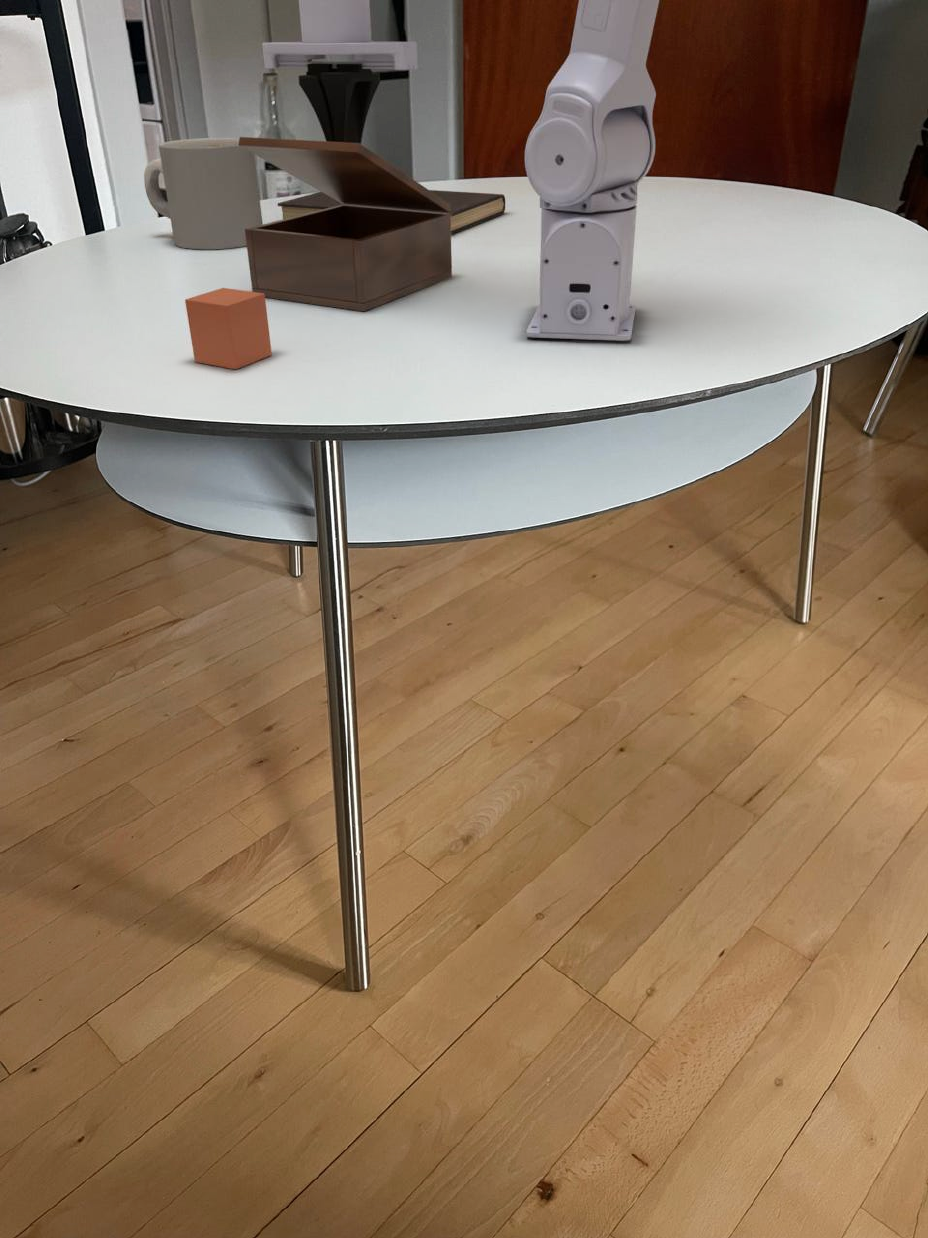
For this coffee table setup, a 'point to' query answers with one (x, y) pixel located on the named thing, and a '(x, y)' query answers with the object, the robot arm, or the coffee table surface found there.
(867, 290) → the coffee table surface
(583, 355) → the coffee table surface
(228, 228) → the coffee mug
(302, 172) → the lid
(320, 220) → the box
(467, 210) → the hardcover book
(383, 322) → the coffee table surface
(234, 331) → the block
